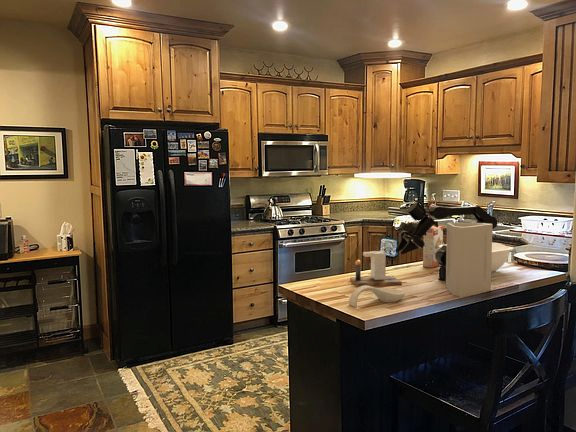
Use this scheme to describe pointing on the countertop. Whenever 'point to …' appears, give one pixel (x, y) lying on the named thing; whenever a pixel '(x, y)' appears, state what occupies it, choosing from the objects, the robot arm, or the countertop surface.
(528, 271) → the countertop surface
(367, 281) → the walnut rail
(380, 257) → the white block with lip
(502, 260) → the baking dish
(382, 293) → the spoon rest
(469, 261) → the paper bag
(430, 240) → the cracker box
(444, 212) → the robot arm
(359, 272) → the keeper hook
